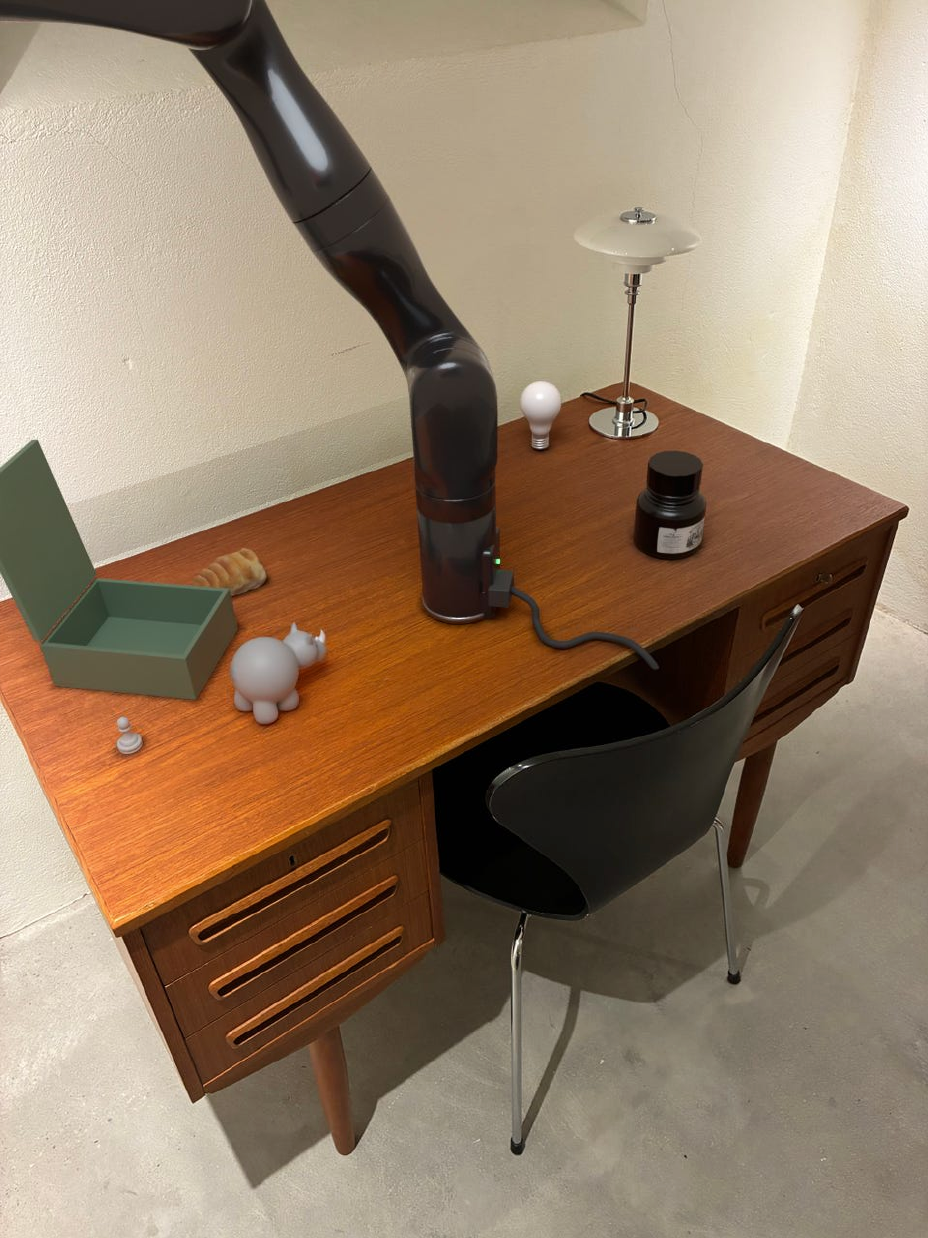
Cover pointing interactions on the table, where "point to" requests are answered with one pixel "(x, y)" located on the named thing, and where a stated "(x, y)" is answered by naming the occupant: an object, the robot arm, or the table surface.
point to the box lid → (39, 542)
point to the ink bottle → (671, 506)
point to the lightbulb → (540, 410)
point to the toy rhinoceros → (273, 672)
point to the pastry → (232, 573)
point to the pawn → (127, 738)
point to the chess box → (141, 638)
